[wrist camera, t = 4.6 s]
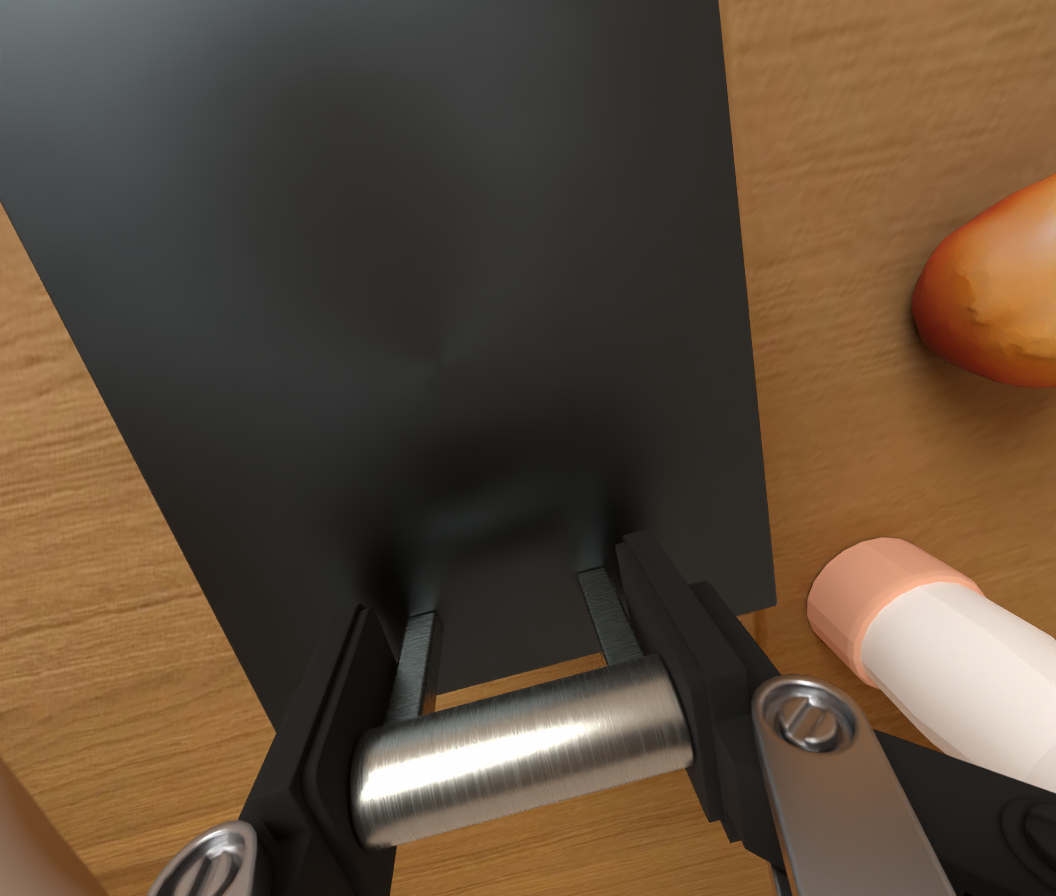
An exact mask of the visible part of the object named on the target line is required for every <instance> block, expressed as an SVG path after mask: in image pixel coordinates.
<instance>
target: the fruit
mask: <svg viewBox="0 0 1056 896" xmlns="http://www.w3.org/2000/svg"><path fill="white" fill-rule="evenodd" d="M912 313H913V316H914V319H915V321H916V324H917V328H918V332H919V335H920V337H921V341H922V343H923V344H924V345H926V346H927V347H928V348H929V349H930V350H931V351H932V352H933V353H934V354H935V355H937V356H939V357H940V358H942V359H944V360H946V362H945V363H951V364H954V365H956V366H958V367H960V368H963V369H965V370H968V371H970V372H972V373H975V374H977V375H980V376H982V377H985V378H988V379H990V380H993V381H996V382H1000V383H1006V384H1010V385H1014V386H1020V387H1030V388H1044V387H1056V174H1054V175H1052V176H1050V177H1048V178H1046V179H1044V180H1042V181H1039V182H1037V183H1035V184H1032V185H1030V186H1028V187H1025V188H1023V189H1021V190H1019V191H1017V192H1015V193H1013V194H1011V195H1009V196H1008V197H1006V198H1004V199H1003V200H1001V201H999V202H998V203H996V204H994V205H993V206H991V207H990V208H988V209H987V210H985V211H984V212H982V213H981V214H979V215H978V216H976V217H975V218H974V219H972V220H971V221H970V222H968V223H967V224H965V225H963V226H962V227H960V228H959V229H957V230H956V231H954V232H953V233H952V234H950V235H949V236H948V237H946V238H945V239H944V240H943V241H942V242H941V243H940V244H939V246H938V247H937V248H936V250H935V251H934V252H933V254H932V255H931V256H930V258H929V260H928V261H927V263H926V265H925V267H924V269H923V271H922V273H921V275H920V277H919V279H918V282H917V284H916V287H915V289H914V292H913V298H912Z"/></svg>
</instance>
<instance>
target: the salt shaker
mask: <svg viewBox="0 0 1056 896" xmlns="http://www.w3.org/2000/svg"><path fill="white" fill-rule="evenodd" d="M807 617H808V620H809V622H810V625H811V627H812V630H813V631H814V632H815V633H816V634H817V635H818V636H819V637H820V638H821V639H822V640H823V641H824V642H825V643H826V644H827V646H828V647H829V648H830V649H831V650H832V651H833V652H834V653H835V654H836V655H837V656H838V657H839V658H840V659H841V660H842V661H843V662H844V663H845V664H846V665H847V666H848V667H849V668H850V669H851V670H852V671H853V673H855V674H856V675H857V676H858V677H859V678H860V679H861V680H862V681H863V682H864V683H865V684H867V685H869V686H872V687H875V688H877V689H880V690H882V691H883V692H884V693H885V695H886V696H887V697H888V698H889V699H890V700H891V701H892V702H893V703H894V704H895V705H896V706H897V707H898V708H899V709H900V711H901V712H902V713H903V714H904V715H905V716H906V717H907V718H908V719H909V720H910V721H911V722H912V723H913V724H914V725H915V726H916V728H917V729H918V730H919V731H920V732H921V733H922V734H923V735H924V736H925V737H926V738H927V739H928V740H929V741H930V742H931V743H933V744H934V745H935V746H936V747H938V748H939V749H940V750H942V751H943V752H944V753H945V754H947V755H949V756H951V757H954V758H957V759H960V760H963V761H966V762H968V763H971V764H974V765H977V766H980V767H983V768H985V769H988V770H991V771H994V772H997V773H1000V774H1003V775H1005V776H1008V777H1011V778H1014V779H1017V780H1020V781H1022V782H1025V783H1028V784H1031V785H1034V786H1037V787H1039V788H1042V789H1045V790H1048V791H1051V792H1054V793H1056V640H1055V639H1054V638H1052V637H1051V636H1050V635H1048V634H1046V633H1044V632H1043V631H1041V630H1039V629H1038V628H1036V627H1034V626H1033V625H1031V624H1029V623H1027V622H1026V621H1024V620H1022V619H1021V618H1019V617H1017V616H1016V615H1014V614H1012V613H1010V612H1009V611H1007V610H1005V609H1004V608H1002V607H1000V606H998V605H997V604H995V603H993V602H992V601H990V600H988V599H987V598H986V597H985V596H984V594H983V593H982V591H981V590H980V589H979V588H978V586H977V585H976V584H975V583H974V581H973V580H971V579H970V578H968V577H966V576H965V575H963V574H961V573H960V572H958V571H956V570H955V569H953V568H951V567H950V566H948V565H947V564H945V563H943V562H942V561H940V560H938V559H937V558H935V557H933V556H932V555H930V554H928V553H927V552H925V551H923V550H922V549H920V548H918V547H917V546H915V545H913V544H911V543H908V542H906V541H904V540H902V539H896V538H885V537H881V538H876V539H872V540H867V541H862V542H860V543H858V544H856V545H854V546H852V547H850V548H848V549H846V550H844V551H842V552H841V553H840V554H839V555H837V556H836V557H835V558H834V559H833V560H831V561H830V562H829V563H828V564H827V565H826V566H825V567H824V568H823V570H822V571H821V573H820V574H819V575H818V577H817V578H816V579H815V581H814V583H813V585H812V588H811V591H810V593H809V596H808V599H807Z"/></svg>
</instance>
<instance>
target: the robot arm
mask: <svg viewBox="0 0 1056 896" xmlns="http://www.w3.org/2000/svg"><path fill="white" fill-rule="evenodd" d="M616 553H617V558H618V563H619V568H620V574H621V579H622V584H623V589H624V594H625V599H626V604H627V609H628V614H629V619H630V622H631V624H632V626H633V628H634V630H635V633H636V635H637V637H638V639H639V641H640V643H641V646H642V648H643V650H644V652H645V654H646V656H648V655H652V654H658V655H660V657H661V658H662V659H663V660H664V662H665V664H666V665H667V667H668V669H669V671H670V673H671V675H672V677H673V680H674V682H675V684H676V687H677V689H678V692H679V695H680V697H681V700H682V703H683V706H684V709H685V712H686V715H687V718H688V721H689V725H690V728H691V732H692V736H693V741H694V746H695V752H696V762H695V764H694V765H692V766H690V767H687V768H685V769H686V771H687V773H688V776H689V778H690V780H691V783H692V785H693V787H694V790H695V792H696V794H697V797H698V799H699V801H700V804H701V806H702V808H703V811H704V813H705V815H706V817H707V819H708V821H709V822H710V823H711V822H714V821H718V820H720V821H721V823H722V826H723V828H724V830H725V832H726V835H727V837H728V839H729V841H730V843H733V842H736V841H740V840H741V841H742V843H743V845H744V847H745V849H747V850H748V851H750V852H752V853H754V854H756V855H757V856H759V857H761V858H763V859H764V860H766V861H767V865H768V869H769V874H770V878H771V883H772V887H773V892H774V896H1056V793H1054V792H1051V791H1048V790H1045V789H1042V788H1039V787H1037V786H1034V785H1031V784H1028V783H1025V782H1022V781H1020V780H1017V779H1014V778H1011V777H1008V776H1005V775H1003V774H1000V773H997V772H994V771H991V770H988V769H985V768H983V767H980V766H977V765H974V764H971V763H968V762H966V761H963V760H960V759H957V758H954V757H951V756H949V755H946V754H943V753H940V752H937V751H934V750H931V749H929V748H926V747H923V746H920V745H917V744H914V743H912V742H909V741H906V740H903V739H900V738H897V737H895V736H892V735H889V734H886V733H883V732H880V731H877V730H875V729H872V727H871V725H870V723H869V721H868V719H867V717H866V715H865V713H864V712H863V711H862V709H861V708H860V706H859V705H858V704H857V702H856V701H855V700H854V699H853V698H852V697H850V696H849V695H848V694H847V693H846V692H845V691H843V690H842V689H841V688H839V687H837V686H835V685H833V684H831V683H829V682H827V681H825V680H822V679H819V678H816V677H812V676H809V675H799V674H787V675H781V674H780V673H779V671H778V670H777V669H776V668H775V666H774V665H773V664H772V662H771V661H770V660H769V658H768V657H767V656H766V655H765V653H764V652H763V651H762V649H761V648H760V647H759V646H758V644H757V643H756V642H755V640H754V639H753V638H752V636H751V635H750V634H749V633H748V631H747V630H746V629H745V627H744V626H743V625H742V624H741V622H740V621H739V620H738V618H737V617H736V616H735V614H734V613H733V612H732V611H731V609H730V608H729V607H728V605H727V604H726V603H725V602H724V600H723V599H722V598H721V596H720V595H719V594H718V593H717V591H716V590H715V589H714V587H713V586H712V585H711V584H710V583H709V582H708V581H705V580H704V581H701V582H697V583H693V584H689V585H688V584H687V583H686V581H685V580H684V579H683V577H682V576H681V574H680V573H679V571H678V570H677V568H676V567H675V566H674V564H673V563H672V561H671V560H670V558H669V557H668V556H667V554H666V553H665V551H664V550H663V548H662V547H661V545H660V544H659V543H658V541H657V540H656V538H655V537H654V535H653V534H652V532H651V531H650V530H649V529H647V530H643V531H639V532H635V533H631V534H627V535H624V536H623V543H620V544H616ZM396 667H397V663H396V660H395V658H394V655H393V653H392V650H391V648H390V645H389V643H388V641H387V638H386V636H385V633H384V631H383V628H382V626H381V623H380V621H379V619H378V616H377V614H376V612H375V610H374V609H373V608H368V609H366V607H365V606H364V605H363V604H361V603H359V604H356V605H352V606H348V607H344V608H340V609H336V610H334V611H333V612H332V614H331V616H330V618H329V620H328V622H327V625H326V627H325V629H324V631H323V634H322V636H321V638H320V640H319V643H318V645H317V647H316V650H315V652H314V654H313V656H312V659H311V661H310V663H309V665H308V668H307V670H306V672H305V675H304V677H303V679H302V681H301V684H300V686H299V688H298V689H297V690H296V692H295V693H294V695H293V697H292V700H291V702H290V704H289V706H288V708H287V711H286V713H285V715H284V717H283V720H282V722H281V724H280V726H279V729H278V731H277V733H276V735H275V738H274V740H273V742H272V744H271V747H270V749H269V751H268V753H267V756H266V758H265V760H264V762H263V765H262V767H261V769H260V771H259V774H258V776H257V778H256V780H255V783H254V785H253V787H252V789H251V792H250V794H249V796H248V798H247V801H246V803H245V805H244V807H243V810H242V812H241V814H240V816H239V818H238V820H233V821H226V822H223V823H221V824H218V825H216V826H213V827H211V828H209V829H208V830H206V831H205V832H203V833H201V834H200V835H198V836H197V837H195V838H194V839H193V840H191V841H190V842H189V843H188V844H187V845H186V846H184V847H183V848H182V849H181V850H180V851H179V852H178V853H177V854H176V855H175V856H174V857H173V858H172V859H171V860H170V862H169V863H168V864H167V865H166V866H165V867H164V868H163V869H162V871H161V872H160V874H159V875H158V877H157V879H156V880H155V882H154V883H153V885H152V886H151V888H150V889H149V892H148V894H147V896H390V890H391V883H392V876H393V869H394V862H395V855H396V848H397V845H396V846H393V847H389V848H385V849H381V850H378V851H373V852H371V851H368V850H365V849H364V848H362V846H361V845H360V844H359V842H358V840H357V838H356V836H355V833H354V830H353V827H352V823H351V818H350V811H349V802H348V774H349V765H350V759H351V755H352V751H353V748H354V745H355V743H356V741H357V739H358V737H359V736H360V735H361V734H362V733H363V732H365V731H366V730H369V729H373V728H376V727H380V726H383V722H384V718H385V713H386V709H387V705H388V701H389V696H390V692H391V688H392V684H393V679H394V675H395V671H396Z"/></svg>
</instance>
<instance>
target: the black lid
mask: <svg viewBox="0 0 1056 896" xmlns="http://www.w3.org/2000/svg"><path fill="white" fill-rule="evenodd" d="M0 202H1V204H2V206H3V208H4V210H5V212H6V213H7V215H8V217H9V219H10V221H11V223H12V225H13V227H14V229H15V231H16V233H17V235H18V237H19V239H20V240H21V242H22V244H23V246H24V248H25V250H26V252H27V254H28V256H29V258H30V260H31V262H32V264H33V265H34V267H35V269H36V271H37V273H38V275H39V277H40V279H41V281H42V283H43V285H44V287H45V289H46V291H47V292H48V294H49V296H50V298H51V300H52V302H53V304H54V306H55V308H56V310H57V312H58V314H59V316H60V317H61V319H62V321H63V323H64V325H65V327H66V329H67V331H68V333H69V335H70V337H71V339H72V341H73V343H74V344H75V346H76V348H77V350H78V352H79V354H80V356H81V358H82V360H83V362H84V364H85V366H86V368H87V369H88V371H89V373H90V375H91V377H92V379H93V381H94V383H95V385H96V387H97V389H98V391H99V393H100V394H101V396H102V398H103V400H104V402H105V404H106V406H107V408H108V410H109V412H110V414H111V416H112V418H113V420H114V421H115V423H116V425H117V427H118V429H119V431H120V433H121V435H122V437H123V439H124V441H125V443H126V445H127V446H128V448H129V450H130V452H131V454H132V456H133V458H134V460H135V462H136V464H137V466H138V468H139V470H140V472H141V473H142V475H143V477H144V479H145V481H146V483H147V485H148V487H149V489H150V491H151V493H152V495H153V497H154V498H155V500H156V502H157V504H158V506H159V508H160V510H161V512H162V514H163V516H164V518H165V520H166V522H167V524H168V525H169V527H170V529H171V531H172V533H173V535H174V537H175V539H176V541H177V543H178V545H179V547H180V549H181V550H182V552H183V554H184V556H185V558H186V560H187V562H188V564H189V566H190V568H191V570H192V572H193V574H194V575H195V577H196V579H197V581H198V583H199V585H200V587H201V589H202V591H203V593H204V595H205V597H206V599H207V601H208V602H209V604H210V606H211V608H212V610H213V612H214V614H215V616H216V618H217V620H218V622H219V624H220V626H221V627H222V629H223V631H224V633H225V635H226V637H227V639H228V641H229V643H230V645H231V647H232V649H233V651H234V653H235V654H236V656H237V658H238V660H239V662H240V664H241V666H242V668H243V670H244V672H245V674H246V676H247V678H248V679H249V681H250V683H251V685H252V687H253V689H254V691H255V693H256V695H257V697H258V699H259V701H260V703H261V705H262V706H263V708H264V710H265V712H266V714H267V716H268V718H269V720H270V722H271V724H272V726H273V728H274V730H275V731H276V733H277V731H278V729H279V726H280V724H281V722H282V720H283V717H284V715H285V713H286V711H287V708H288V706H289V704H290V702H291V700H292V697H293V695H294V693H295V692H296V690H297V689H298V688H299V686H300V684H301V681H302V679H303V677H304V675H305V672H306V670H307V668H308V665H309V663H310V661H311V659H312V656H313V654H314V652H315V650H316V647H317V645H318V643H319V640H320V638H321V636H322V634H323V631H324V629H325V627H326V625H327V622H328V620H329V618H330V616H331V614H332V612H333V611H334V610H336V609H340V608H344V607H348V606H352V605H356V604H359V603H361V604H363V605H364V606H365V607H366V609H368V608H373V609H374V610H375V612H376V614H377V616H378V619H379V621H380V623H381V626H382V628H383V631H384V633H385V636H386V638H387V641H388V643H389V645H390V648H391V650H392V653H393V655H394V658H395V660H396V663H397V667H396V671H395V675H394V679H393V684H392V688H391V692H390V696H389V701H388V705H387V709H386V713H385V718H384V722H383V726H380V727H376V728H373V729H369V730H366V731H365V732H363V733H362V734H361V735H360V736H359V737H358V739H357V741H356V743H355V745H354V748H353V751H352V755H351V759H350V765H349V774H348V802H349V811H350V818H351V823H352V827H353V830H354V833H355V836H356V838H357V840H358V842H359V844H360V845H361V846H362V848H364V849H365V850H368V851H371V852H373V851H378V850H381V849H385V848H389V847H393V846H396V845H400V844H404V843H407V842H411V841H415V840H419V839H422V838H426V837H430V836H433V835H437V834H441V833H445V832H448V831H452V830H456V829H460V828H463V827H467V826H471V825H474V824H478V823H482V822H486V821H489V820H493V819H497V818H501V817H504V816H508V815H512V814H515V813H519V812H523V811H527V810H530V809H534V808H538V807H541V806H545V805H549V804H553V803H556V802H560V801H564V800H568V799H571V798H575V797H579V796H582V795H586V794H590V793H594V792H597V791H601V790H605V789H608V788H612V787H616V786H620V785H623V784H627V783H631V782H635V781H638V780H642V779H646V778H649V777H653V776H657V775H661V774H664V773H668V772H672V771H675V770H679V769H683V768H687V767H690V766H692V765H694V764H695V762H696V752H695V746H694V741H693V736H692V732H691V728H690V725H689V721H688V718H687V715H686V712H685V709H684V706H683V703H682V700H681V697H680V695H679V692H678V689H677V687H676V684H675V682H674V680H673V677H672V675H671V673H670V671H669V669H668V667H667V665H666V664H665V662H664V660H663V659H662V658H661V657H660V655H658V654H652V655H648V656H646V654H645V652H644V650H643V648H642V646H641V643H640V641H639V639H638V637H637V635H636V633H635V630H634V628H633V626H632V624H631V622H630V619H629V614H628V609H627V604H626V599H625V594H624V589H623V584H622V579H621V574H620V568H619V563H618V558H617V553H616V544H620V543H623V536H624V535H627V534H631V533H635V532H639V531H643V530H647V529H649V530H650V531H651V532H652V534H653V535H654V537H655V538H656V540H657V541H658V543H659V544H660V545H661V547H662V548H663V550H664V551H665V553H666V554H667V556H668V557H669V558H670V560H671V561H672V563H673V564H674V566H675V567H676V568H677V570H678V571H679V573H680V574H681V576H682V577H683V579H684V580H685V581H686V583H687V584H688V585H689V584H693V583H697V582H701V581H704V580H705V581H708V582H709V583H710V584H711V585H712V586H713V587H714V589H715V590H716V591H717V593H718V594H719V595H720V596H721V598H722V599H723V600H724V602H725V603H726V604H727V605H728V607H729V608H730V609H731V611H732V612H733V613H734V614H735V616H739V615H743V614H747V613H750V612H754V611H758V610H762V609H766V608H769V607H773V606H776V605H777V596H776V585H775V575H774V565H773V555H772V545H771V534H770V524H769V514H768V504H767V493H766V483H765V473H764V463H763V452H762V442H761V432H760V422H759V412H758V401H757V391H756V381H755V371H754V360H753V350H752V340H751V330H750V319H749V309H748V299H747V289H746V278H745V268H744V258H743V248H742V238H741V227H740V217H739V207H738V197H737V186H736V176H735V166H734V156H733V145H732V135H731V125H730V115H729V105H728V94H727V84H726V74H725V64H724V53H723V43H722V33H721V23H720V12H719V2H718V0H0ZM599 652H600V654H601V657H602V660H603V663H604V666H605V667H603V668H599V669H595V670H591V671H588V672H584V673H580V674H576V675H573V676H569V677H565V678H561V679H558V680H554V681H550V682H546V683H542V684H539V685H535V686H531V687H527V688H524V689H520V690H516V691H512V692H508V693H505V694H501V695H497V696H493V697H490V698H486V699H482V700H478V701H475V702H471V703H467V704H463V705H459V706H456V707H452V708H448V709H444V710H441V711H437V712H434V711H435V703H436V696H437V695H440V694H444V693H448V692H452V691H456V690H459V689H463V688H467V687H471V686H474V685H478V684H482V683H486V682H490V681H493V680H497V679H501V678H505V677H508V676H512V675H516V674H520V673H524V672H527V671H531V670H535V669H539V668H542V667H546V666H550V665H554V664H558V663H561V662H565V661H569V660H573V659H577V658H580V657H584V656H588V655H592V654H595V653H599Z"/></svg>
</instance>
